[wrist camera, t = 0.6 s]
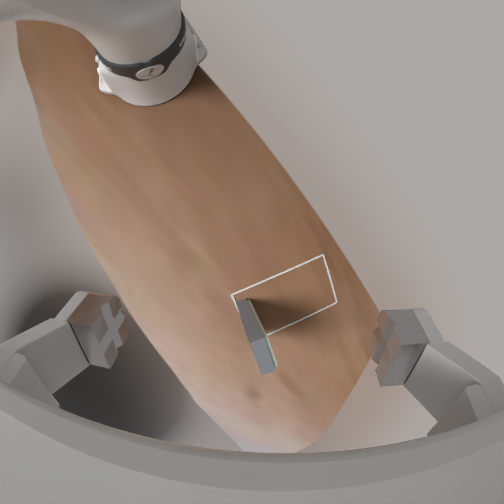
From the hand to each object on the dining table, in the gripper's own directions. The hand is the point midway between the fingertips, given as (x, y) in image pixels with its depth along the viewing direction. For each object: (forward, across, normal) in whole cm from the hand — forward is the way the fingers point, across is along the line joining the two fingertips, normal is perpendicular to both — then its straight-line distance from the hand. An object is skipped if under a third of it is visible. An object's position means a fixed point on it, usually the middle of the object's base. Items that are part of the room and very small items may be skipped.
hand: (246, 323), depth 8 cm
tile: (+33, +3, +28) cm, 43 cm away
